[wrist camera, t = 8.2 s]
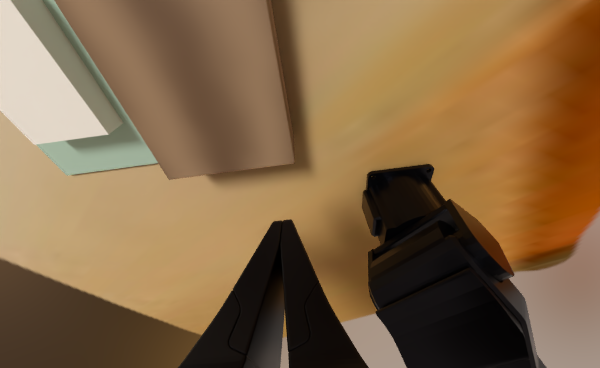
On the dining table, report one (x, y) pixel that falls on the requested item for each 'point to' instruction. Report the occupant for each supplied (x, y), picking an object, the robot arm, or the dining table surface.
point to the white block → (47, 79)
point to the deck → (193, 79)
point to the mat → (99, 149)
